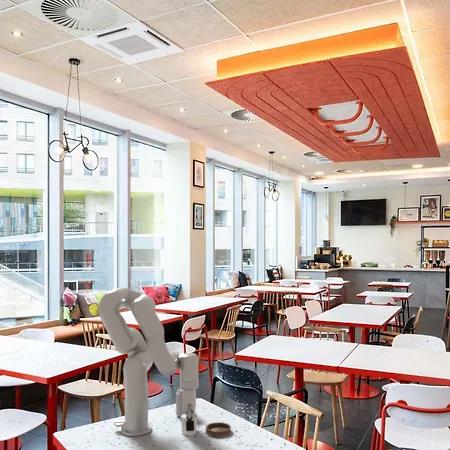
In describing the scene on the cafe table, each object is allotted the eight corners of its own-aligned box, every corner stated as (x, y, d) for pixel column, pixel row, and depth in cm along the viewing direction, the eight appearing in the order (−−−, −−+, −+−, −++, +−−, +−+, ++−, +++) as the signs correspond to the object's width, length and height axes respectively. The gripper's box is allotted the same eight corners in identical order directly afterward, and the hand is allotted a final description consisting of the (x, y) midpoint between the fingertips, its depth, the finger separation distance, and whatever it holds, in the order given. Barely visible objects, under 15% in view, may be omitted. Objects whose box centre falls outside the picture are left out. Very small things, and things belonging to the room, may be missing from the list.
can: (173, 417, 217) (173, 390, 218) (179, 412, 224) (179, 385, 225) (189, 419, 215) (189, 391, 216) (194, 413, 223) (194, 387, 223)
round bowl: (205, 437, 195) (205, 432, 195) (206, 427, 205) (206, 422, 205) (231, 436, 195) (231, 431, 195) (230, 427, 206) (230, 422, 206)
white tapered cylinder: (197, 429, 203) (197, 412, 204) (197, 435, 197) (197, 418, 197) (181, 429, 203) (181, 412, 204) (180, 436, 196) (180, 418, 197)
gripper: (181, 378, 209) (182, 419, 208) (178, 390, 192) (180, 434, 191) (199, 378, 209) (200, 418, 209) (198, 389, 192) (199, 433, 191)
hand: (190, 426), depth 200 cm, fingers open, 9 cm apart
